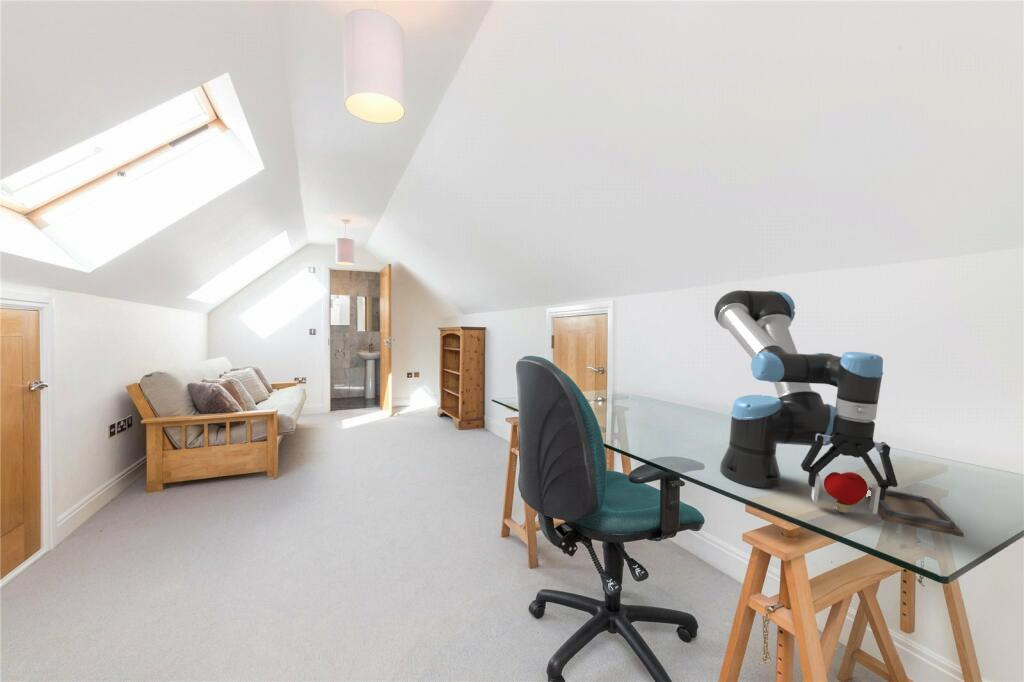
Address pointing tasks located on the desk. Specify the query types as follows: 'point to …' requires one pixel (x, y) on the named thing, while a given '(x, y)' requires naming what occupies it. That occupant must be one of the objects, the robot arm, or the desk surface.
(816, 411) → the robot arm
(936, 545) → the desk surface
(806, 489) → the desk surface
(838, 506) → the red heart on stub
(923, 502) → the dark wooden picture frame
